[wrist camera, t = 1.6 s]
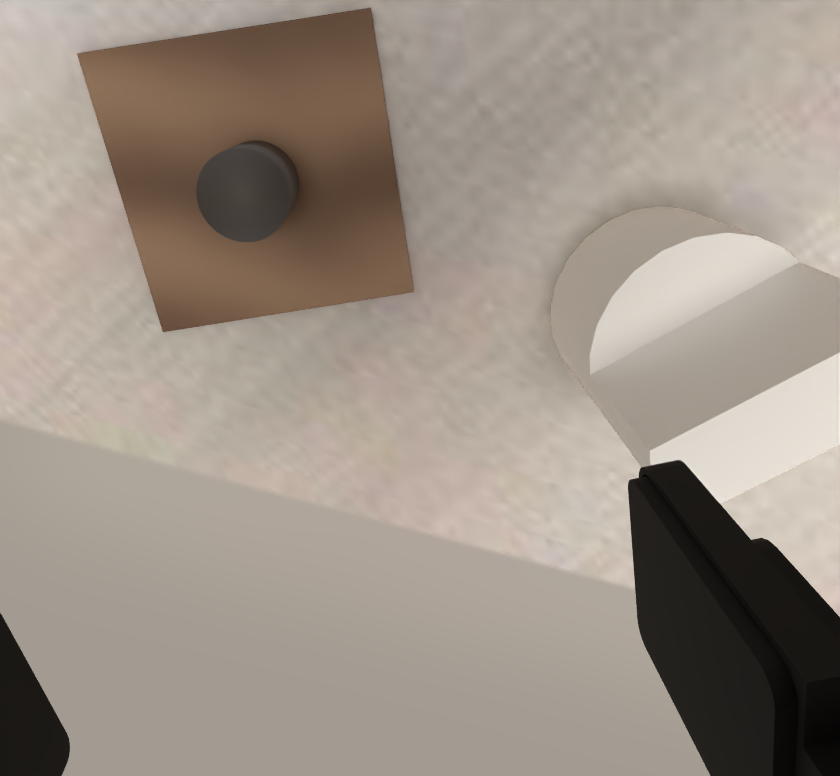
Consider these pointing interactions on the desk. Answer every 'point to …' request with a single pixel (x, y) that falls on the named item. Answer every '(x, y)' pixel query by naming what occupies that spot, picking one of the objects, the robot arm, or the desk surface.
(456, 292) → the desk surface
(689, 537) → the robot arm
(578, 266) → the white cylindrical piece
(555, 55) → the desk surface
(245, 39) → the lid
